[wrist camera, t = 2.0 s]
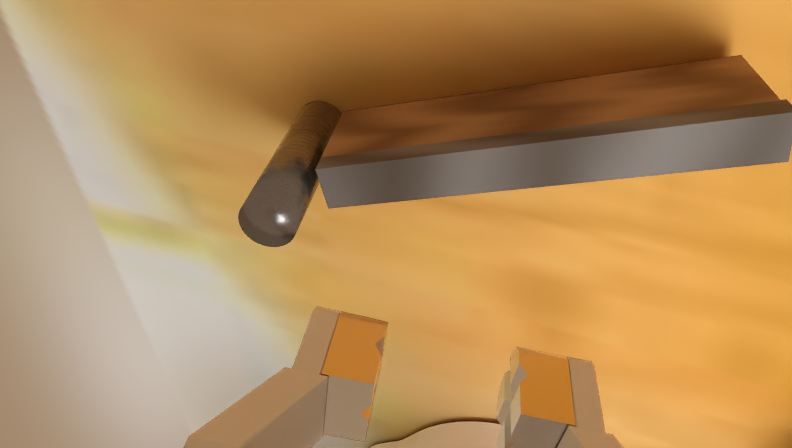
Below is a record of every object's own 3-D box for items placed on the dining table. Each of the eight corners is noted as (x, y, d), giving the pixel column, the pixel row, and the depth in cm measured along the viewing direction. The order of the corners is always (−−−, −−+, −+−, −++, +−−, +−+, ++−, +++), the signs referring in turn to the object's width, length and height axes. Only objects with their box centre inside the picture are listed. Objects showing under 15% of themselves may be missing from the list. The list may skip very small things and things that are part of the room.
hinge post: (341, 146, 32) (295, 251, 25) (298, 137, 32) (239, 240, 25) (345, 105, 30) (296, 205, 23) (299, 97, 30) (237, 193, 23)
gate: (352, 142, 31) (324, 208, 26) (341, 107, 29) (310, 169, 25) (736, 92, 26) (788, 161, 21) (741, 49, 25) (797, 111, 20)
